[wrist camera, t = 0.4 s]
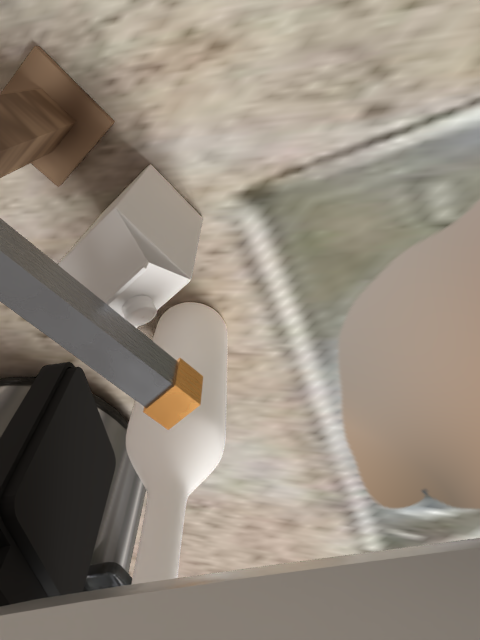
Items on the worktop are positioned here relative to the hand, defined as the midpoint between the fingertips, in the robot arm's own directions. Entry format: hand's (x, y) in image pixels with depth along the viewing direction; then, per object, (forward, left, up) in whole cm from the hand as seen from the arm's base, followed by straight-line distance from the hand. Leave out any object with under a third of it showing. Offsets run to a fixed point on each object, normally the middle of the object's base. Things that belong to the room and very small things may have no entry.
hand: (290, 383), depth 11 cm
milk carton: (+11, -1, -37) cm, 38 cm away
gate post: (+11, -13, -36) cm, 40 cm away
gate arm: (+11, -5, -15) cm, 20 cm away
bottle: (+18, +11, -36) cm, 42 cm away
